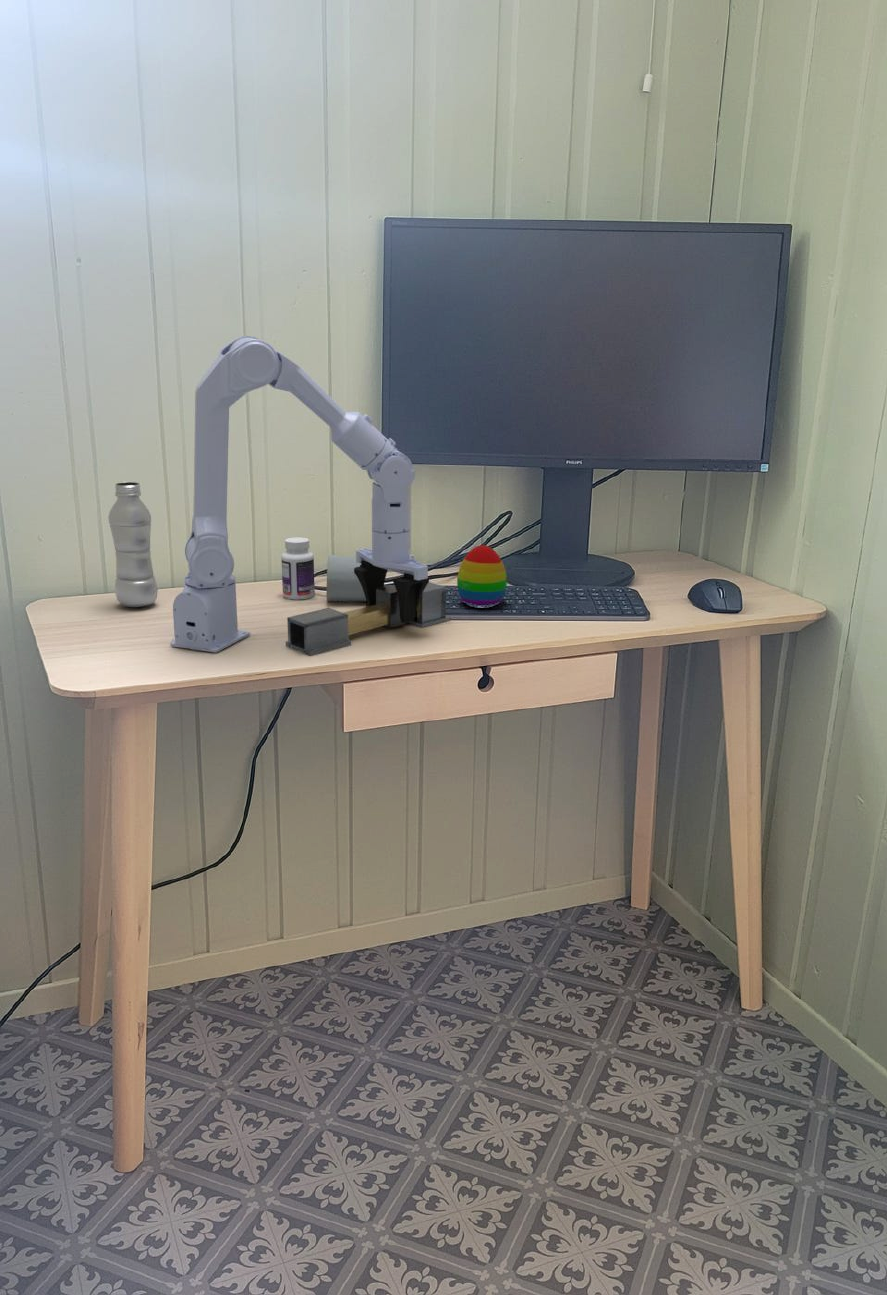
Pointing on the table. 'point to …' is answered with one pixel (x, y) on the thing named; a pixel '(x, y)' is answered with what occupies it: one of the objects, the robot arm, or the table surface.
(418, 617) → the grey square bracket
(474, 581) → the decorative egg
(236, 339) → the robot arm
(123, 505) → the plastic bottle
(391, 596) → the two-tone block
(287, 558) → the pill bottle
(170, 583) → the table surface
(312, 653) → the steel sleeve
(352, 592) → the ceramic mug
